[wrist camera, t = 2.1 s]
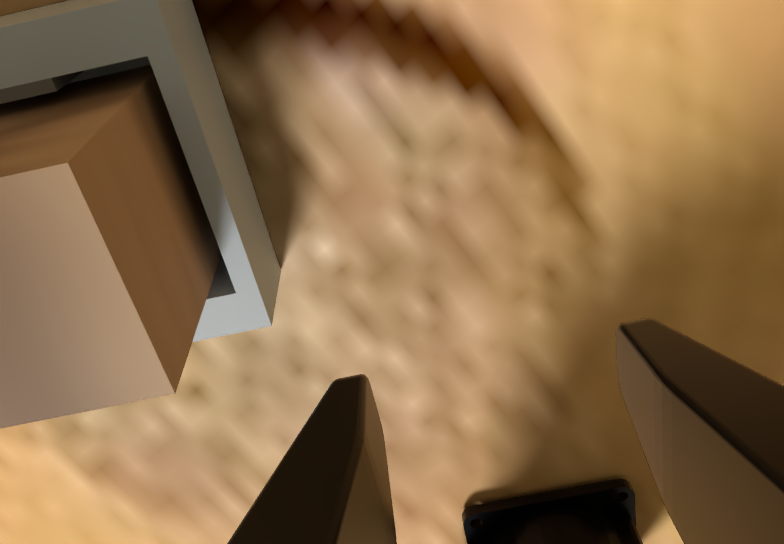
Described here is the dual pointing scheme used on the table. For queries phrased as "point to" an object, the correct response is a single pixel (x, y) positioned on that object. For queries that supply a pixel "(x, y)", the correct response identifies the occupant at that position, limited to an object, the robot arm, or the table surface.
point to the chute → (189, 117)
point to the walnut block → (96, 249)
